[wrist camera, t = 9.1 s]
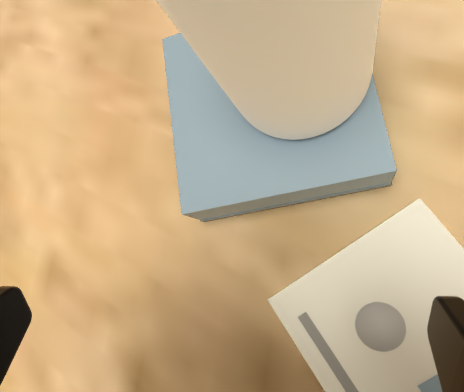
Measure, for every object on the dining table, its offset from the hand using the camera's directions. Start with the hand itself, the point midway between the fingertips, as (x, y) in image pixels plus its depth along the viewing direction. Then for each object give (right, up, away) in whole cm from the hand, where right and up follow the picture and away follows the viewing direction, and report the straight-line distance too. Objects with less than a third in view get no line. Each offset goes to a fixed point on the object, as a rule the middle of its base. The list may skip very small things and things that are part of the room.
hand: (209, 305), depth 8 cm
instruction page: (+9, -5, +8) cm, 13 cm away
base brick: (+3, +7, +13) cm, 15 cm away
